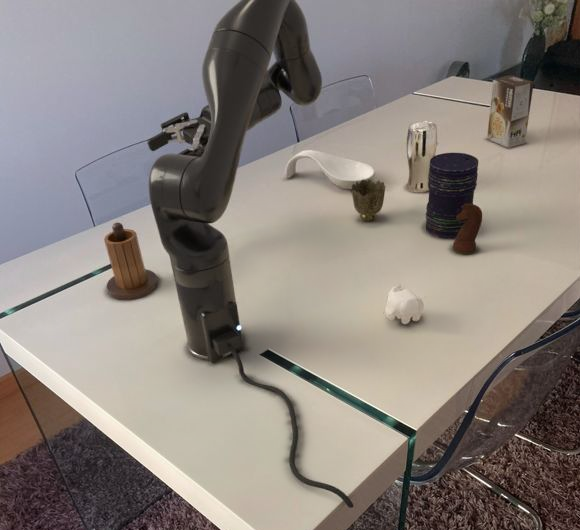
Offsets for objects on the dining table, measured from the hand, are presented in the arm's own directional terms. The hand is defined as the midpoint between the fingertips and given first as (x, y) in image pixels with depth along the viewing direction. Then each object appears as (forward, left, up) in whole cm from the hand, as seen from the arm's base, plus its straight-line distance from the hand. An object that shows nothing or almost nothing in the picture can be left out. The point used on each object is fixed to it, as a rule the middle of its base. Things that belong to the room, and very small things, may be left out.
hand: (161, 154), depth 117 cm
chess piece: (-30, -49, -25) cm, 63 cm away
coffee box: (+6, -101, -25) cm, 104 cm away
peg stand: (+2, +11, -25) cm, 27 cm away
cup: (-6, -43, -25) cm, 50 cm away
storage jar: (-21, -53, -25) cm, 62 cm away
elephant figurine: (-41, -23, -25) cm, 54 cm away
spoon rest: (+17, -49, -25) cm, 57 cm away
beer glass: (-1, -63, -25) cm, 68 cm away
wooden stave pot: (+2, +11, -23) cm, 26 cm away
